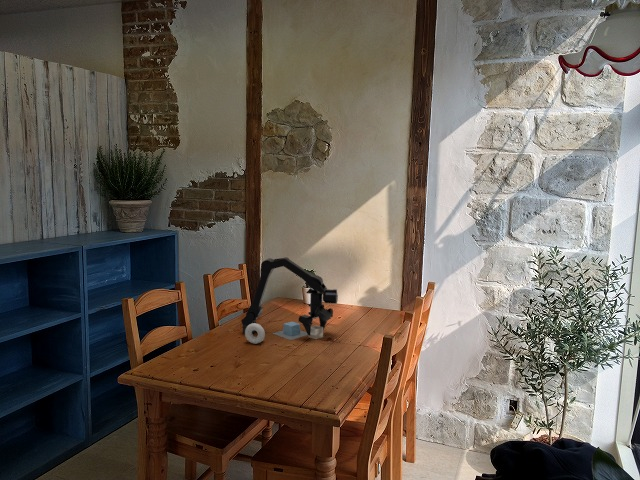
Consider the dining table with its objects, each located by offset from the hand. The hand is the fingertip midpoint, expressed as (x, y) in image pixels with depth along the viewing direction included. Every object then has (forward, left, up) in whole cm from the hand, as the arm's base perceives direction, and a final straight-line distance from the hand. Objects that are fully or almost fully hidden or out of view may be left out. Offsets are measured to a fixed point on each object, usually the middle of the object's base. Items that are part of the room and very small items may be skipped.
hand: (315, 333), depth 257 cm
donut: (-26, +15, -3) cm, 30 cm away
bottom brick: (-5, +12, -2) cm, 13 cm away
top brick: (0, 0, -3) cm, 3 cm away
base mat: (-5, +12, -3) cm, 13 cm away
